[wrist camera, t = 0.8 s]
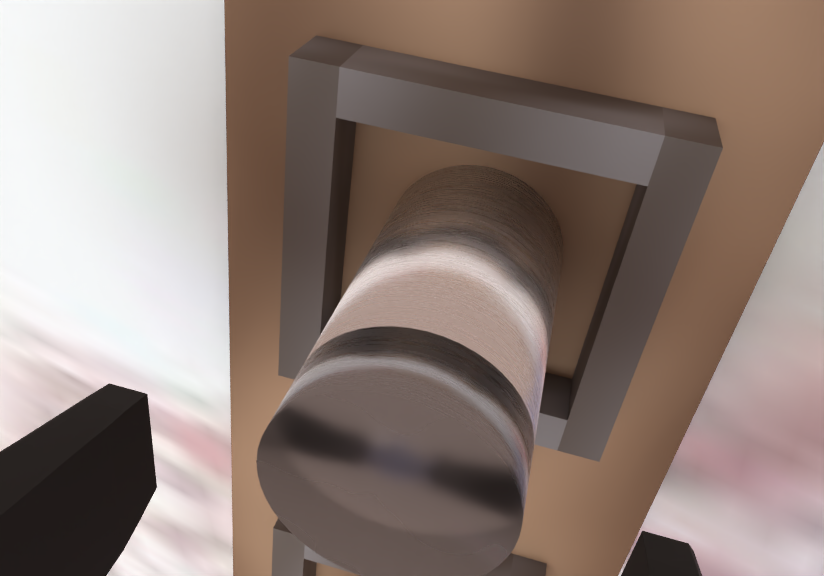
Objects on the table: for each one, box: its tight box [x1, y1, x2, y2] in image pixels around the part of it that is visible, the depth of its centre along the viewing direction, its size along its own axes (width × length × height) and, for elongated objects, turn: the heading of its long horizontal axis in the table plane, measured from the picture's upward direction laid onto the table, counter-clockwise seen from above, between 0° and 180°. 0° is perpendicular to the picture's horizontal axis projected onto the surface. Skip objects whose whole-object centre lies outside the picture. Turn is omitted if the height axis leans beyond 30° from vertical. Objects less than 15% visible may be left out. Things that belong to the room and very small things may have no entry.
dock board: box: [224, 0, 824, 576], centre depth 21 cm, size 12×28×2 cm, turn 173°
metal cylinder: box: [256, 165, 563, 576], centre depth 14 cm, size 4×4×8 cm
